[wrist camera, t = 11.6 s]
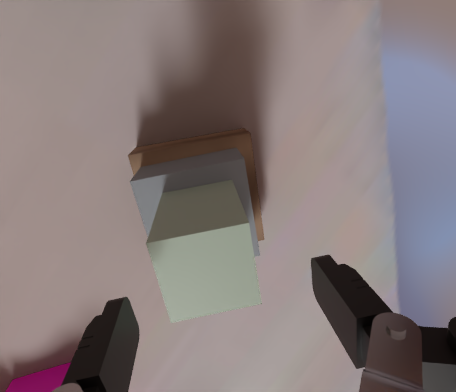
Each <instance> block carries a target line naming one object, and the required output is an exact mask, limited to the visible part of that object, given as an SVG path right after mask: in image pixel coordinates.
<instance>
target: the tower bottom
mask: <svg viewBox="0 0 456 392" xmlns="http://www.w3.org/2000/svg"><path fill="white" fill-rule="evenodd" d="M232 148H237V149H238V150H239V152H240V153H241V155H242V156H243V157H244V160H245V166H246V172H247V179H248V185H249V191H250V197H251V203H252V209H253V215H254V221H255V227H256V233H257V239H258V241H260V240H264V233H263V226H262V218H261V210H260V203H259V195H258V187H257V179H256V172H255V164H254V156H253V149H252V141H251V133H249V132H248V131H247V130H246V129H244V128H241V129H236V130H230V131H224V132H219V133H213V134H208V135H202V136H196V137H191V138H185V139H180V140H174V141H168V142H163V143H157V144H152V145H146V146H140V147H136V148H135V149H134V150H133V151H132V152H131V153H130V154H129V155H128V157H129V160H130V164H131V167H132V171H133V174H134V175H135V174H136V172H137V171H138V170H139V168H140V167H143V166H148V165H153V164H158V163H163V162H167V161H172V160H177V159H182V158H187V157H192V156H197V155H202V154H207V153H212V152H217V151H222V150H227V149H232Z"/></svg>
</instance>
